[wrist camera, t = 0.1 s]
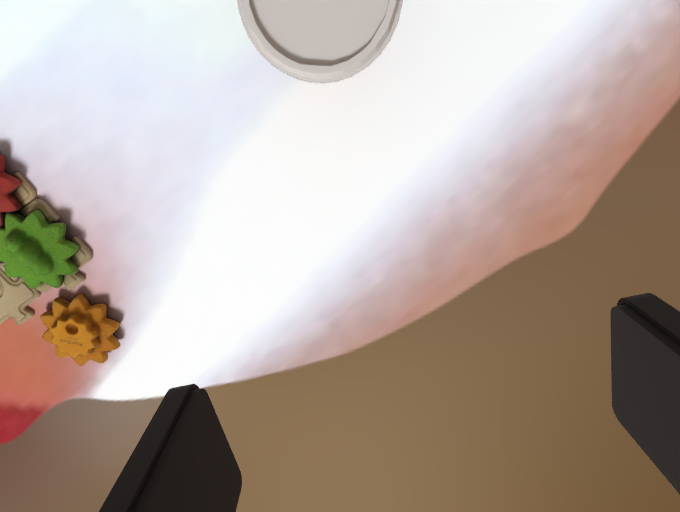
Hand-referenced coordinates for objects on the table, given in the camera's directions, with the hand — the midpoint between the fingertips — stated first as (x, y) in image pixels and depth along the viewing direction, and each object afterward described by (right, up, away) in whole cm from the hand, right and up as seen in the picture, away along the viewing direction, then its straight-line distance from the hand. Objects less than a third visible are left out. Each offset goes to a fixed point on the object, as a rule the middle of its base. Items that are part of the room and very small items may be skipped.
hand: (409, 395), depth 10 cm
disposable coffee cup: (-3, +22, +25) cm, 34 cm away
